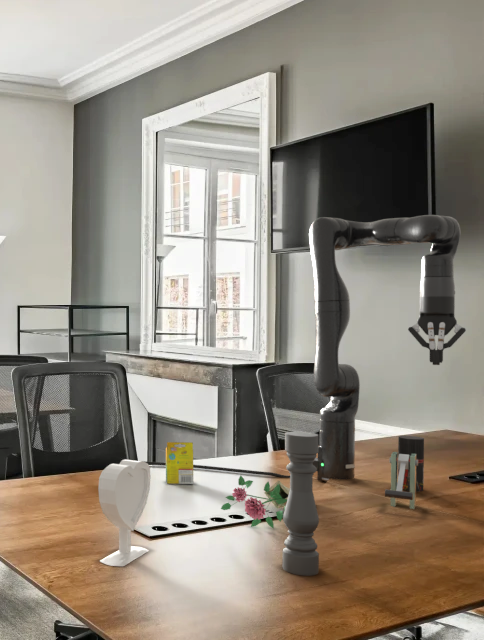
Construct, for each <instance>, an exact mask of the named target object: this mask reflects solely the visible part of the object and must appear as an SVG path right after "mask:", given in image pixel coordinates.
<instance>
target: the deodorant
mask: <svg viewBox="0 0 484 640" xmlns="http://www.w3.org/2000/svg"><path fill="white" fill-rule="evenodd" d="M397 437H398V439H397V442H398V445H397V446H398V447H397V448H398V450H397V452H398V457H399V454H407V455H409V469H406V470H405V476H404V483H403V490H402V491H404V492H410V456H411V454H416V460H418V466H416V493H417V492H418V493H420V492H423V491H424V486H425V485H424V479H425V478H424V477H425V476H424V475H425V438H424V437H422V436H417V435H399V436H397ZM399 470H400V468H398V467H397V478H398V477H399Z"/></svg>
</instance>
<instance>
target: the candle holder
mask: <svg viewBox="0 0 484 640" xmlns="http://www.w3.org/2000/svg"><path fill="white" fill-rule="evenodd" d="M318 447H319V434H318V433H314V432H308V431H286V432H285V433H284V451H286V456H287V457H288V460H289V463H288V464H287V465H286V466H285V468H286V471H288V473H289V476H290V478H289V488H290V491H289V495H288V499H287V503H286V507H285V511H284V510H283V517H282V520H283V523H284V526H285V527H286V528H287V529H288V530H287V533H288V534H289V535H288V536H287V537H286V538H285V540H284V542H283V543H284V546H285V547H283V549H282V569H283V571H285V572H287V573H290V574H293V575H298V576H309V577H310V576H315V575H319V569H320V568H319V566H320V564H319V563H320V556H319V555H320V553H319V552H318V551H317V549H318V543H317V542H316V541H315V539H314V537H313V536H314V535H315V533H314V532H315V531H316V530H317V528H318V526H319V523H320V518H319V512H318V509H317V505H316V504H317V503H316V500H315V496H314V492H313V491H314V490H313V487H314V485H313V483H314V482H313V481H314V480H313V479H314V478H313V477H314V474H315V473H316V472H317V468H316V467H315V466H314V465H313V462H314V459H315V458H317V457H318Z"/></svg>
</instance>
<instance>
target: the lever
mask: <svg viewBox="0 0 484 640" xmlns="http://www.w3.org/2000/svg"><path fill="white" fill-rule="evenodd" d="M398 468H400V470H399V477H398V476H397V490H396V491H395V490H391V489H387V488H385V489H384V497H385V498H390V499H391V498H397V499H400V500H409V501H410V500H413V493H412V492H410V491H405V490H403V483H404V476H405V470H406V469H409V455H407V454H399V457H398V467H397V469H398Z"/></svg>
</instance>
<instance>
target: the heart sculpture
mask: <svg viewBox="0 0 484 640" xmlns="http://www.w3.org/2000/svg"><path fill="white" fill-rule="evenodd" d="M141 461H142V460H134V459H133V460H132V459H126V458H125V459H122V460H120V462H119V463H110V464H109V465H106V467H105V468H104V469H103V470H102V471H101V473H100V475H99V477H98V488H97V490H98V501H99V502H98V503H99V505H100V509H101V511H102V514H103V515H104V517H105V519H107V521H109V522H110V523H111V524H112V525H113V526H114V527H115V528H117V529H118V531H119V532H118V550H117V551H114V552H112V553H111V554H109V555H107V556H106V557H104V558H102V559H100V560H99V562H100V563H102V564H104V565H107V566H112V567H113V566H114V567H125V566H127V565H128V564H130V563H131V562H133V561H136V559H138V558H140V557H142V556H143V555H144V554H147V553H148V552H149V551H150V550H149V549H147V548H145V547H142V546H136V545H135V546H134V545H132V532H134V531H135V528H136V527H137V525H138V523H139V520H140V519H141V517H142V514H143V513H144V510H145V508H146V505H147V501H148V498H149V495H150V494H149V493H150V489H151V478H152V477H151V467H150V466H151V465H148V463H146V462H147V461H145V462H141Z"/></svg>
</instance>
